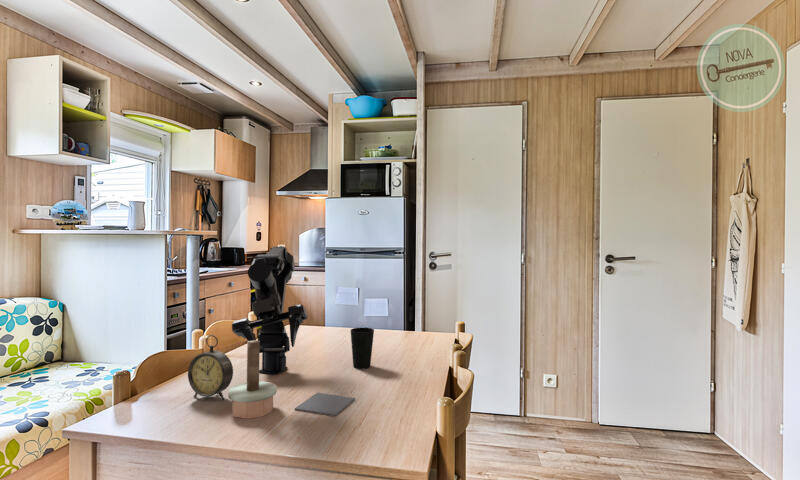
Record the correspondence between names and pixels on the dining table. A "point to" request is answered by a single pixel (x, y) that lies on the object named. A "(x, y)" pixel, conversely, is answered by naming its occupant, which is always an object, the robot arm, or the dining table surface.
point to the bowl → (252, 408)
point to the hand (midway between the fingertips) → (275, 351)
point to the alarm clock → (210, 372)
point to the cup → (362, 347)
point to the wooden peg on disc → (252, 379)
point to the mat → (325, 404)
